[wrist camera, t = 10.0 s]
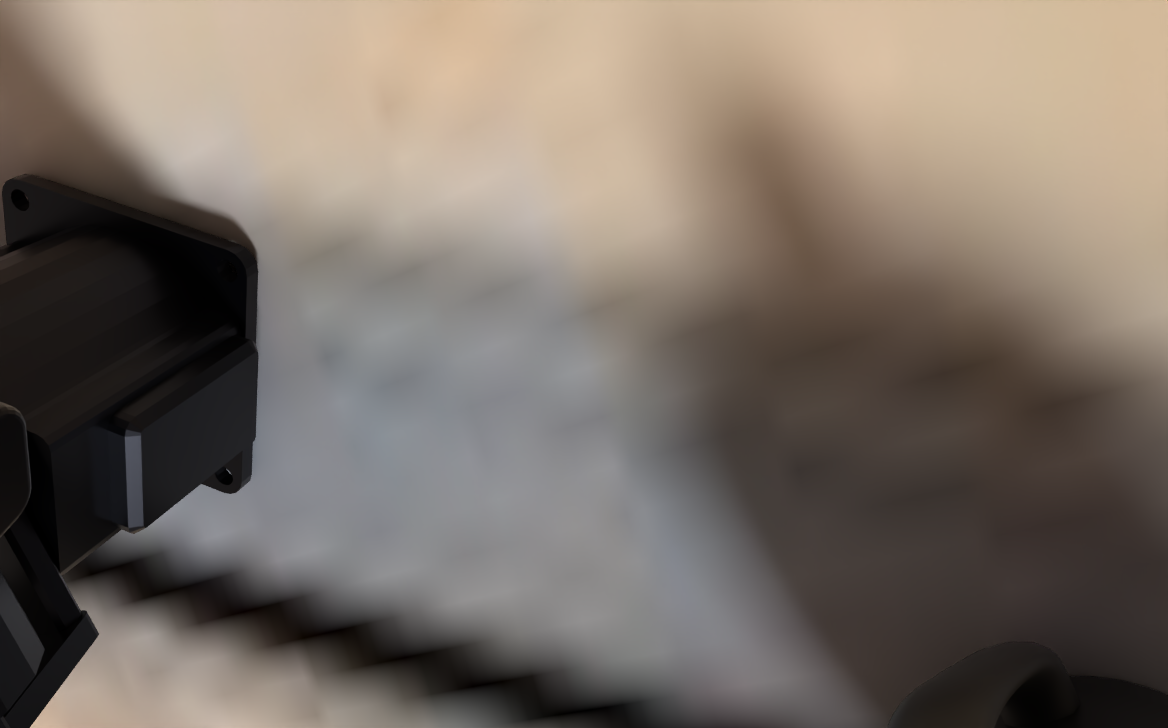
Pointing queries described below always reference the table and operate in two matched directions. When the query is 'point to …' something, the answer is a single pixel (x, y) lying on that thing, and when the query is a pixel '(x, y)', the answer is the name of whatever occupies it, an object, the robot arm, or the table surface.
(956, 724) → the mug
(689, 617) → the table surface
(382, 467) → the table surface
